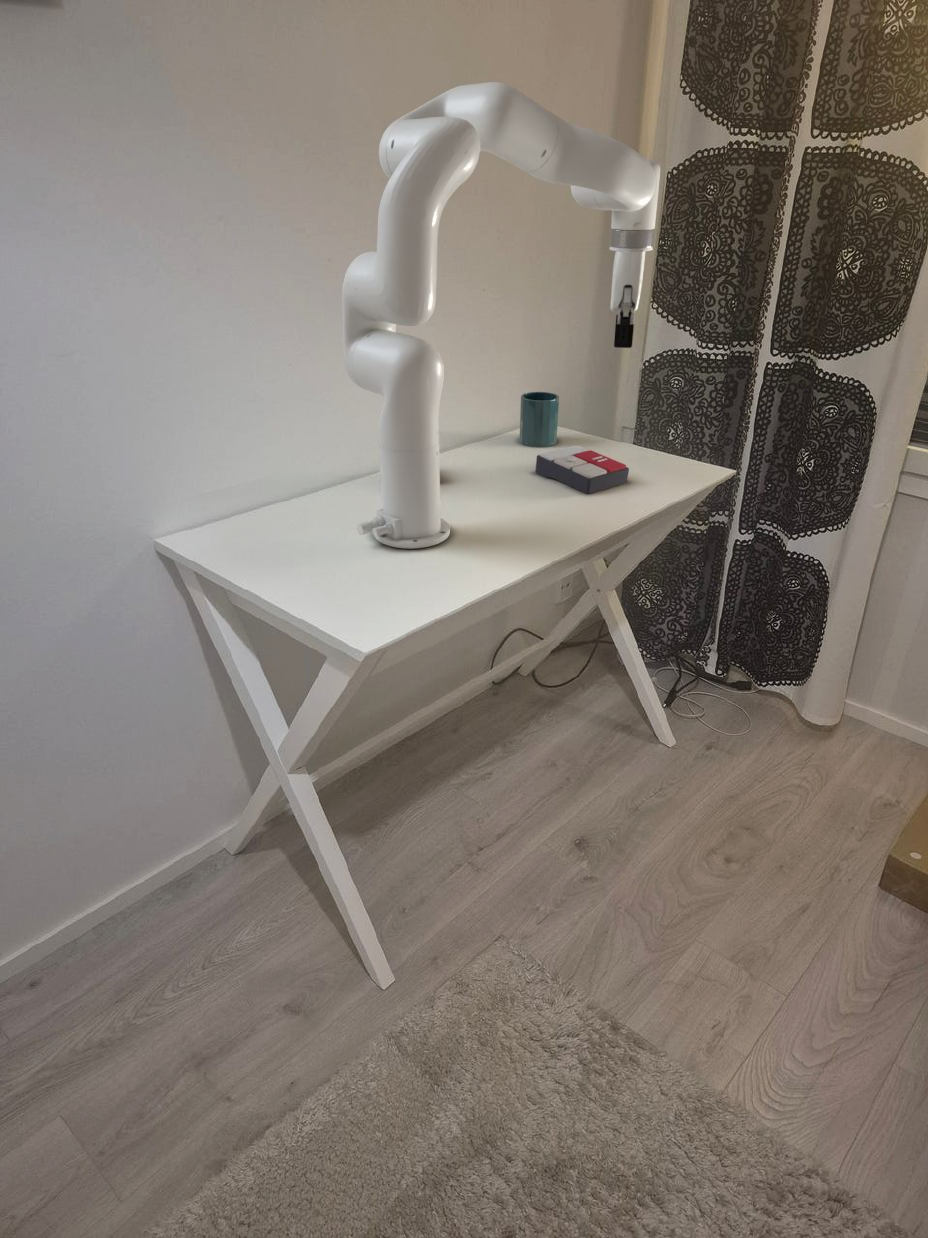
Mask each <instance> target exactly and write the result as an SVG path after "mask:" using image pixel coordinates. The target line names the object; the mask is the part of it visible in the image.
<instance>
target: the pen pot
mask: <svg viewBox="0 0 928 1238" xmlns="http://www.w3.org/2000/svg"><path fill="white" fill-rule="evenodd" d="M559 403H560V395H558V394H557V393H553V392H548V391H530V392H525V393H522V394H521V396H520V412H519V414H520V415H519V416H520V417H519V443H520V444H522V445H524V446H528V447H532V448H533V447H534V448H547V447H550V446H554V445H556V444H557V441H558V439H557V438H558V421H559V407H560V406H559Z"/></svg>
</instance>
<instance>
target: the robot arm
mask: <svg viewBox="0 0 928 1238" xmlns="http://www.w3.org/2000/svg"><path fill="white" fill-rule="evenodd" d="M481 152H485V153H490V154H492V155H494V156H496V157H497V158H500V159H501V160H503V161H505V162H507V163H509V164H510V165H512V166H514V167H516V168H518V169H519V170H521V171H523V172H524V173H527V174H528V175H530V176H531V177H533V178H535V179H538V180H540V181H544V182H548V183H551V184H555V185H563V186H570V192H571V195H572V197H573V199H574V201H575V202H576V203H577V204H578V205H579V206H580V207H582V208H585V209H586V210H592V211H593V210H594V211H611V222H610V223H611V225H610V236H609V251H612V252H613V251H614V252H615V253H614V260H613V265H612V266H613V267H612V276H611V277H612V279H611V292H610V305H609V306H610V307H609V309H610V310H611V312H614V311H615V309H617V314H616V315H615V326H614V327H615V328H614V339H613V347H614V348H617V349H618V348H621V349H631V348H632V347H633V340H634V331H635V330H634V328H635V324H634V317H635V315H634V313H635V312H636V311H638V309H639V304H640V299H641V294H642V287H643V279H644V270H645V261H646V252H650V251H653V250H654V249H653V248H654V239H655V231H656V230H655V229H656V219H657V212H658V202H659V201H658V200H659V190H660V182H661V181H660V180H661V165H660V163H659V162H658V161H657V160H654V159H647V158H646V157H645V156H643V155H642V154H641V153H639V152H638V151H636V150H635V149H634V148H632V147H631V146H628V145H627V144H625V143H624V142H622V141H619V140H618V139H615V138H612V137H610V136H608V135H604V134H602V133H599V132H596V131H594V130H591V129H589V128H586V127H583V126H582V125H581V126H580V125H578V124H575V123H572V122H569V121H566V120H564V119H563V118H561V117H560V116H558V115H556V114H555V113H553V112H552V111H550V110H549V109H547V108H545V107H544V106H543V105H541V104H539V103H538V102H537V101H535V100H533V99H532V98H531V97H529V96H528V95H526V94H524V93H523V92H522V91H520V90H519V89H516V88H515V87H513V86H511V85H510V84H507V83H506V82H499V81H488V82H478V83H469V84H463V85H458V86H455V87H452V88H451V89H448V90H446V91H445V92H443V93H441V94H439V95H438V96H436V97H434V98H432V99H430V100H428V101H427V102H425V103H424V104H422V105H420V106H418V107H417V108H415V109H413V110H412V111H409V112H408V113H406V114H404V115H402V116H400V117H399V118H397V119H395V120H394V121H392V122H391V124H389V125H388V127H387V128H386V129H385V130H384V132H383V133H382V136H381V138H380V141H379V146H378V159H379V164H380V167H381V170H382V172H383V173H384V175H385V176H386V177H387V179H389V180H388V181H387V183H386V186H385V187H384V189H383V193H382V195H381V198H380V203H379V206H378V213H377V235H376V251H373V250H372V251H367V252H364V253H361V254H359V255H358V256H356V257H355V258H354V259H353V260H352V261H351V262H350V264H349V266H348V267H347V269H346V271H345V275H344V278H343V281H342V288H341V313H342V314H341V316H342V317H341V319H342V348H343V359H344V365H345V369H346V372H347V375H348V376H349V378H350V379H351V381H352V382H353V383H355V385H357V386H358V387H359V388H361V389H363V390H366V391H368V392H372V393H374V394H377V395H380V396H382V397H384V399H383V405H382V408H381V412H380V415H379V418H378V425H377V439H378V440H377V441H378V452H379V455H378V456H379V471H380V472H379V473H380V489H381V491H380V492H381V509H377V510H376V516H374V517H373V518H372V520H366V521H362V522H358V523H357V525H356V530H357V533H358V534H359V535H360V536H364V535H367V534H370V533H372V534H373V537H374V538H375V539H376V540H377V541H378V542H379V543H381V544H383V545H384V546H388V547H392V548H398V549H410V550H411V549H422V548H429V547H432V546H435V545H438V544H441V543H443V542H444V541H446V540H447V539H448V538H449V536H450V534H451V526H450V523H448V522H447V521H446V520H445V519H443V518H441V475H440V474H441V472H440V471H441V470H440V468H441V467H440V466H441V465H440V464H441V463H440V409H441V408H440V407H441V398H442V393H443V388H444V383H445V365H444V361H443V358H442V356H441V354H440V353H439V351H438V350H437V349H436V347H435V346H434V345H433V344H431V343H430V342H428V341H427V340H424V339H423V338H420V337H418V336H413V335H411V334H410V335H409V334H405V333H400V332H397V326H403V327H417V326H421V325H423V324H425V323H426V322H427V321H429V320H430V318H431V317H432V315H433V314H434V312H435V308H436V303H437V285H438V283H437V281H438V278H437V277H438V240H439V229H440V228H439V227H440V222H441V217H442V213H443V211H444V209H445V207H446V205H447V203H448V201H449V200H450V198H451V197H452V195H453V194H454V193H455V191H456V190H457V189H458V188H459V187H460V186H462V185H463V184H464V183H465V182H466V181H467V180H468V179H469V178H470V177H471V176H472V174H473V173H474V171H475V169H476V167H477V164H478V163H479V160H480V153H481Z"/></svg>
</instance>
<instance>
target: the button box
mask: <svg viewBox="0 0 928 1238" xmlns="http://www.w3.org/2000/svg"><path fill="white" fill-rule="evenodd" d="M629 472H630V468H629V467H627V465H626V464H625V463H623V462H620V461H619V460H615V459H613V458H611V457H608V456H605V455H603V454H601V453H599V452H596V451H594V450H591V449H590V450H589V449H587V448H584V447H582V446H580V445H577V444H575V445H571V446H568V447H562V448H559V449H554V450H550V451H547V452H542V453H540V454H538V455H536V462H535V474H538V475H539V476H541V477H544V478H546V479H550V478H552V479H554V480H556V481H559V482H561V483H562V484H565V485H567V486H569V487H571V488H573V489H575V490H578V491H579V492H581V493H584V494H586V495H589V494H593V493H597V492H600V491H603V490H607V489H610V488H613V487H617V486H620V485H624V484H626V483H628V479H629Z"/></svg>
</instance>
